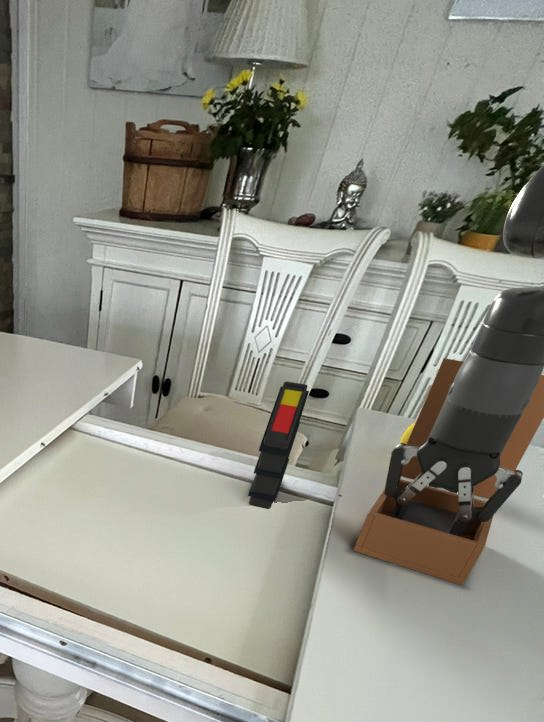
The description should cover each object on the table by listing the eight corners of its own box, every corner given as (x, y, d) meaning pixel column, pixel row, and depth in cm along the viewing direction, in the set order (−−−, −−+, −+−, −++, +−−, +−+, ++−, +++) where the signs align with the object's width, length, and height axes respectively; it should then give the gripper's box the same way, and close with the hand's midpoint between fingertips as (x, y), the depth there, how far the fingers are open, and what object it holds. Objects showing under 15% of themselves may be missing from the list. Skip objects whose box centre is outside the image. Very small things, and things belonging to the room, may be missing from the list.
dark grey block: (446, 533, 77) (457, 512, 75) (434, 565, 71) (445, 543, 69) (402, 520, 80) (411, 500, 78) (386, 550, 73) (395, 528, 71)
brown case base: (462, 585, 69) (484, 546, 66) (352, 550, 74) (368, 512, 71) (476, 540, 78) (496, 504, 74) (377, 512, 83) (392, 476, 80)
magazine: (288, 464, 91) (311, 383, 78) (267, 530, 86) (288, 455, 73) (263, 459, 92) (282, 379, 79) (241, 524, 87) (257, 450, 74)
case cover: (564, 378, 66) (560, 377, 71) (443, 358, 72) (446, 358, 76) (498, 501, 74) (498, 494, 78) (393, 474, 79) (398, 468, 83)
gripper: (564, 407, 63) (485, 543, 74) (421, 379, 69) (368, 509, 80) (562, 425, 59) (478, 568, 69) (409, 394, 65) (354, 530, 75)
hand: (419, 536), depth 75 cm, fingers closed on dark grey block, 5 cm apart
